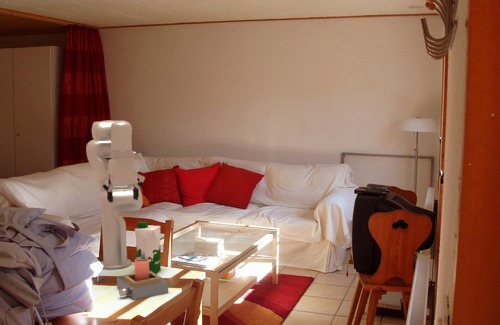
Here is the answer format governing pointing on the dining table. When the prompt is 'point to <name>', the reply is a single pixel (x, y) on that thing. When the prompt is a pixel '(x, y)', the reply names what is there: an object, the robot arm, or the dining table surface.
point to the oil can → (141, 267)
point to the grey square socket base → (141, 286)
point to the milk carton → (149, 244)
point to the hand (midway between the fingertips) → (123, 200)
